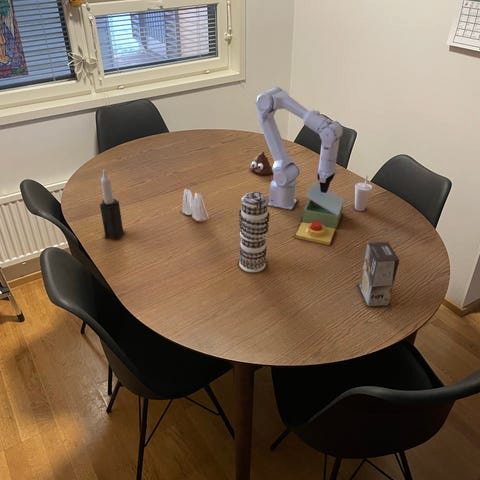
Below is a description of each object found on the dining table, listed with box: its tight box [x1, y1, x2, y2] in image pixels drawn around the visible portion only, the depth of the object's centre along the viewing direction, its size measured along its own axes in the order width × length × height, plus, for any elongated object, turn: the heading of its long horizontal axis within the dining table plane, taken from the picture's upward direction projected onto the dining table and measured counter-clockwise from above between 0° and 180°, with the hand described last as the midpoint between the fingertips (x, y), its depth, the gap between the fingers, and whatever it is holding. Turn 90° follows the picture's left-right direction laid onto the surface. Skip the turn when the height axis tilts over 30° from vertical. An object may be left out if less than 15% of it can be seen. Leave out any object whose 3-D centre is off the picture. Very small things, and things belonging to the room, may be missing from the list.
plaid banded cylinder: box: [238, 191, 271, 273], centre depth 141 cm, size 9×9×25 cm
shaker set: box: [181, 188, 210, 223], centre depth 168 cm, size 12×4×11 cm, turn 40°
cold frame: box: [301, 199, 344, 230], centre depth 170 cm, size 12×11×5 cm
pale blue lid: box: [305, 181, 345, 216], centre depth 167 cm, size 13×11×1 cm
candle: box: [99, 169, 124, 241], centre depth 154 cm, size 5×5×25 cm
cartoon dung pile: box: [249, 151, 273, 176], centre depth 201 cm, size 10×8×9 cm
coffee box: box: [359, 241, 400, 307], centre depth 132 cm, size 9×6×16 cm
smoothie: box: [354, 175, 373, 212], centre depth 174 cm, size 6×6×14 cm
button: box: [311, 221, 322, 231], centre depth 160 cm, size 4×4×2 cm
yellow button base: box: [295, 222, 336, 246], centre depth 162 cm, size 12×9×3 cm
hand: (323, 191), depth 167 cm, fingers closed
